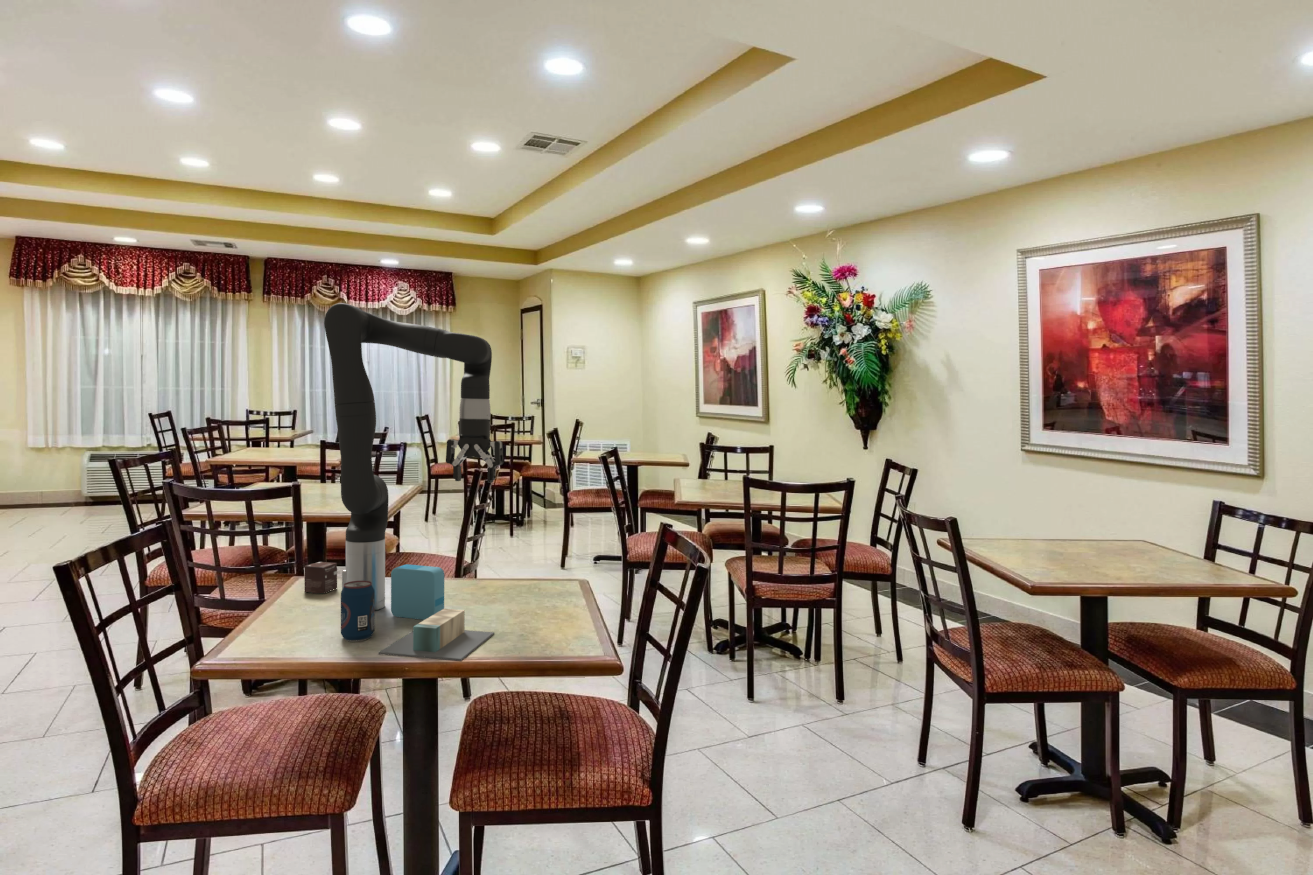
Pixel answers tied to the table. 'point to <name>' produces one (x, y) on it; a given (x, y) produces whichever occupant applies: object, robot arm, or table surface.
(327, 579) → the box
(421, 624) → the birch block
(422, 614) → the data package
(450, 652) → the rubber mat
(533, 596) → the table surface
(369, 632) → the soda can
